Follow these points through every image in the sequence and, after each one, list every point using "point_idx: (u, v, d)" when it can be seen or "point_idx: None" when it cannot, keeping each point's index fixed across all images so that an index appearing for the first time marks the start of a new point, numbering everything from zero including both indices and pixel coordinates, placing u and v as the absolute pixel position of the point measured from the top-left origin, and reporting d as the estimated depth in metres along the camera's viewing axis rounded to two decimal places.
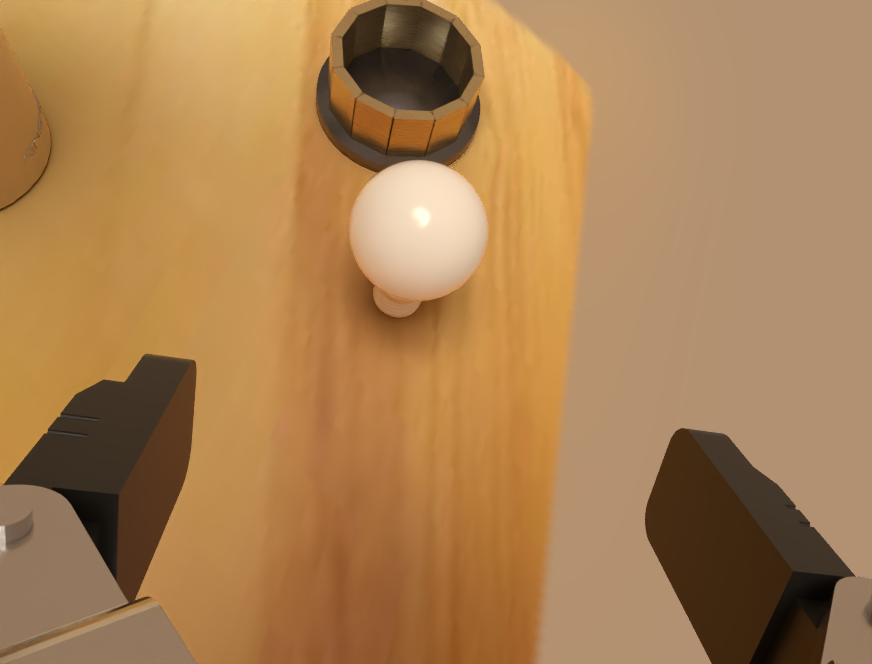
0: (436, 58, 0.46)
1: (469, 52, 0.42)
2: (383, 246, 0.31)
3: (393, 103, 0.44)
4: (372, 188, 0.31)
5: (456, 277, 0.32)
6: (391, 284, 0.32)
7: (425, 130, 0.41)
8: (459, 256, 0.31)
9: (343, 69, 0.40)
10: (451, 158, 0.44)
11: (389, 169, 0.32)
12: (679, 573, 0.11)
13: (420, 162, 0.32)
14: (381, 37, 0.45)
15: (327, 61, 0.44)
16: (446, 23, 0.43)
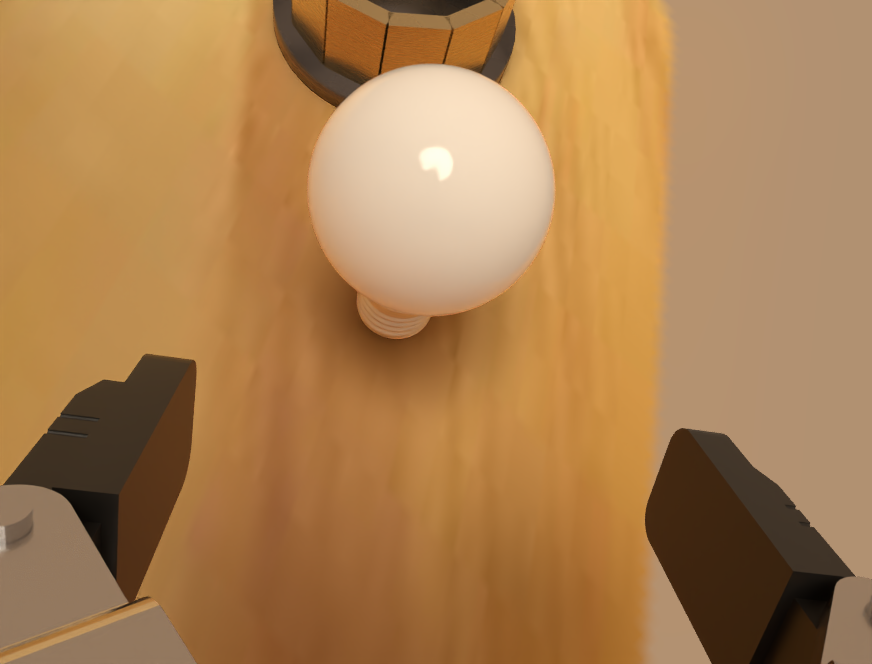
0: None
1: None
2: (366, 216, 0.16)
3: None
4: (346, 110, 0.17)
5: (502, 274, 0.17)
6: (384, 287, 0.17)
7: (437, 48, 0.26)
8: (509, 234, 0.17)
9: None
10: None
11: (378, 77, 0.17)
12: (679, 573, 0.11)
13: (435, 65, 0.17)
14: None
15: None
16: None
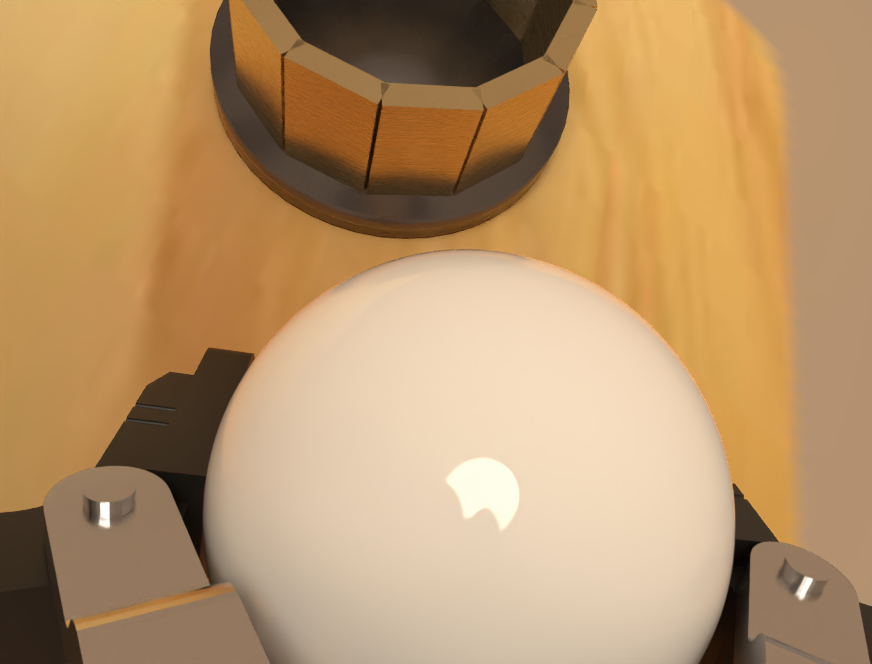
0: None
1: None
2: None
3: (383, 75, 0.20)
4: (278, 389, 0.07)
5: None
6: None
7: (459, 135, 0.17)
8: None
9: None
10: (512, 197, 0.20)
11: (354, 299, 0.08)
12: None
13: (481, 269, 0.08)
14: None
15: None
16: None
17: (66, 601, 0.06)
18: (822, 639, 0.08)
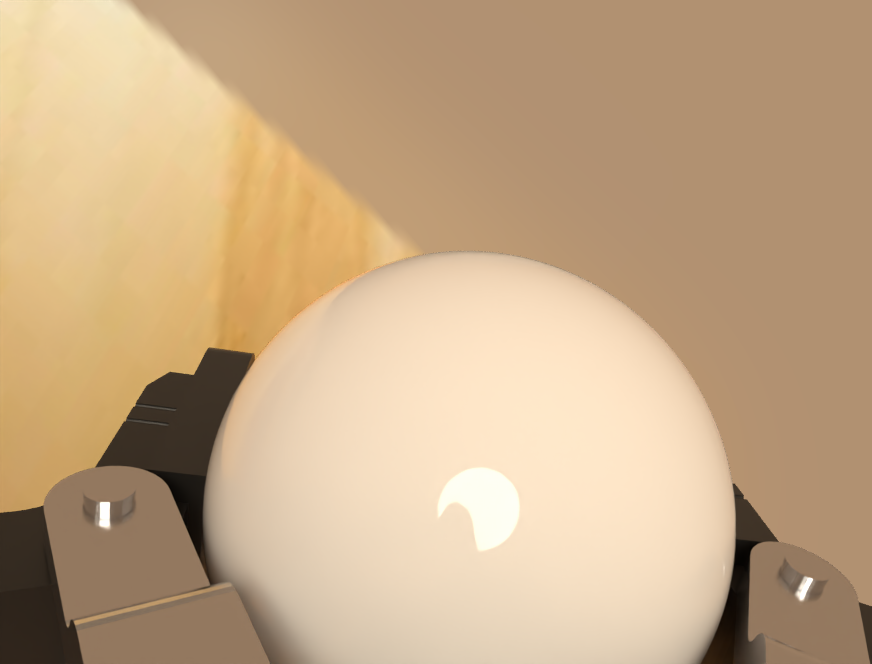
0: None
1: None
2: None
3: None
4: (277, 391, 0.07)
5: None
6: None
7: None
8: None
9: None
10: None
11: (354, 301, 0.08)
12: None
13: (481, 271, 0.08)
14: None
15: None
16: None
17: (66, 602, 0.06)
18: (823, 638, 0.08)
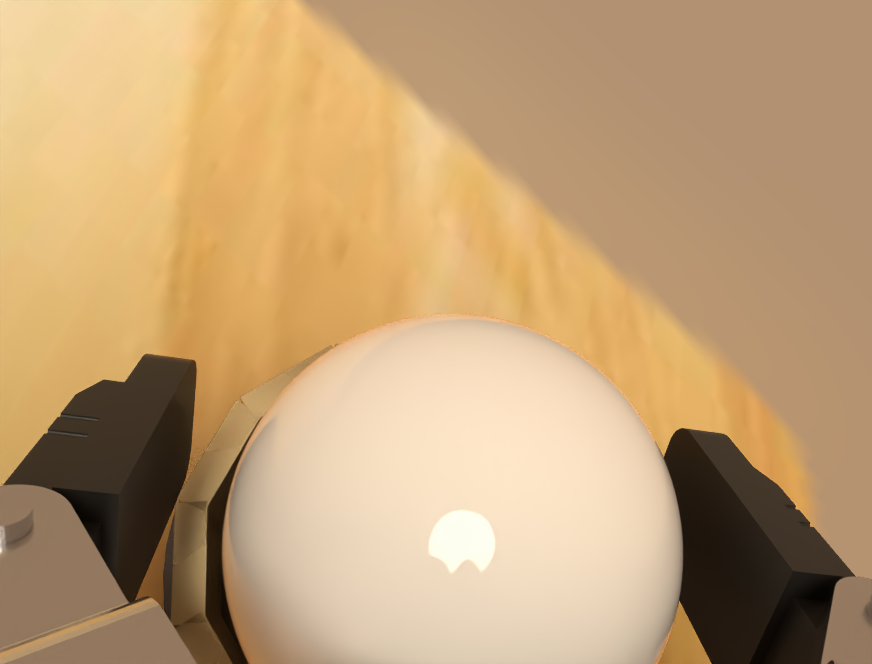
0: None
1: None
2: None
3: None
4: (286, 446, 0.09)
5: None
6: None
7: None
8: None
9: (202, 628, 0.13)
10: None
11: (351, 366, 0.09)
12: None
13: (460, 339, 0.09)
14: None
15: None
16: None
17: None
18: None
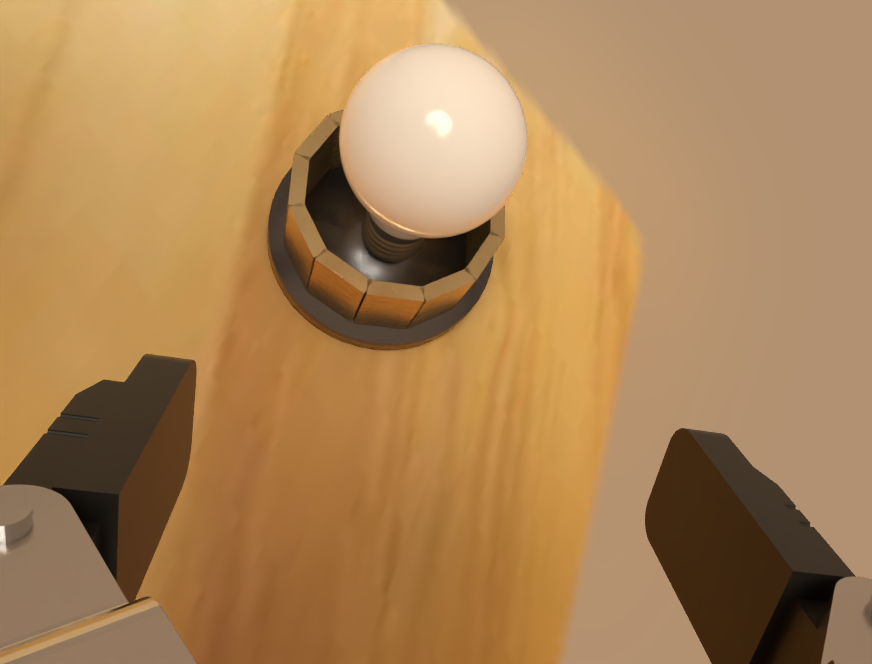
0: None
1: None
2: (383, 150, 0.22)
3: None
4: (379, 70, 0.23)
5: (477, 210, 0.23)
6: (388, 206, 0.23)
7: (410, 308, 0.28)
8: (486, 179, 0.23)
9: (303, 209, 0.28)
10: (444, 331, 0.32)
11: (406, 49, 0.23)
12: (679, 573, 0.11)
13: (449, 46, 0.23)
14: None
15: (291, 171, 0.32)
16: None
17: None
18: None
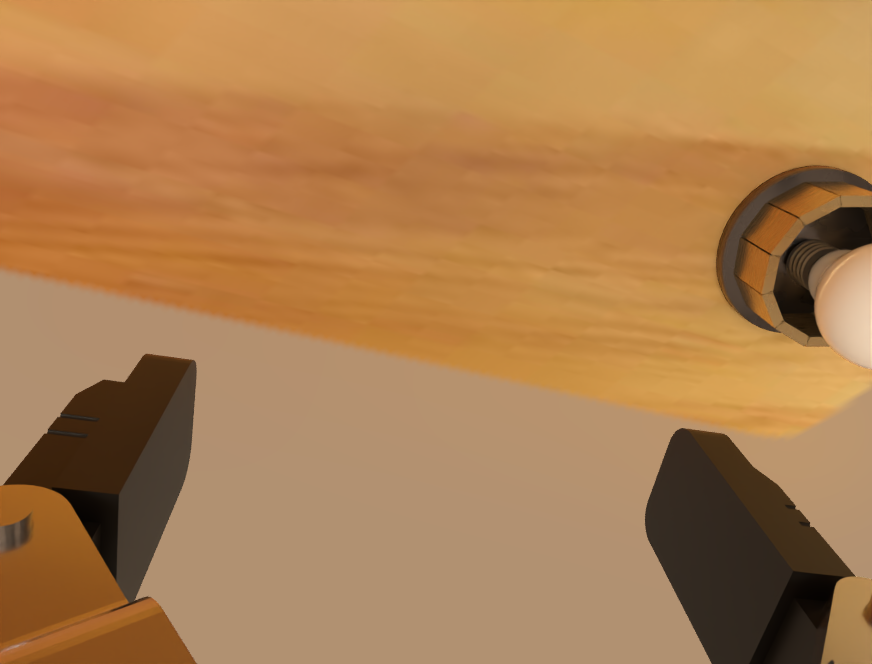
0: None
1: None
2: None
3: None
4: None
5: (837, 339, 0.35)
6: (843, 280, 0.35)
7: (754, 282, 0.40)
8: (861, 347, 0.34)
9: (836, 206, 0.38)
10: (729, 299, 0.44)
11: None
12: (679, 573, 0.11)
13: None
14: None
15: (863, 181, 0.41)
16: None
17: None
18: None
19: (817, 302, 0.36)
